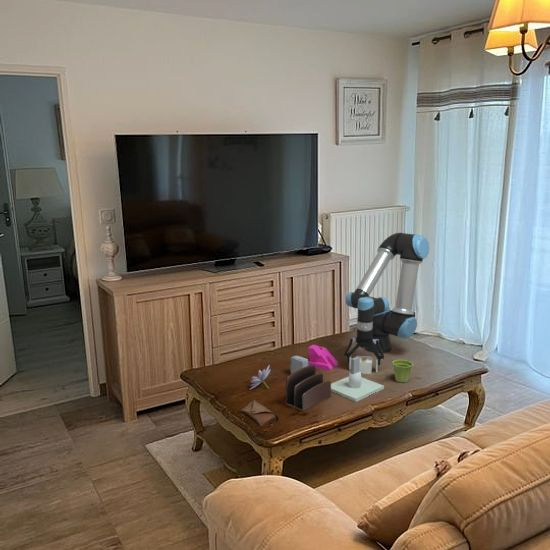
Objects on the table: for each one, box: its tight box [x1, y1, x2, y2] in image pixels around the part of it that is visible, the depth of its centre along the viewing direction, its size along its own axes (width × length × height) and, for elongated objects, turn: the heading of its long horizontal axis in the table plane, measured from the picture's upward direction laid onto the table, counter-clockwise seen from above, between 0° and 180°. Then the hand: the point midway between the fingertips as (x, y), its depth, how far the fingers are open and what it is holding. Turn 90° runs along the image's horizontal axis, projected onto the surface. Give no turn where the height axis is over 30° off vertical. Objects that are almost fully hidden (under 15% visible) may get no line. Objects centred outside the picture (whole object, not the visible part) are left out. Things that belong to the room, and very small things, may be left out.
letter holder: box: [285, 365, 332, 412], centre depth 247 cm, size 10×20×14 cm, turn 137°
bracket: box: [307, 344, 339, 372], centre depth 287 cm, size 12×10×10 cm
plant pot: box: [392, 359, 414, 383], centre depth 268 cm, size 9×9×9 cm
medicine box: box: [290, 355, 309, 375], centre depth 275 cm, size 8×4×9 cm, turn 47°
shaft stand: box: [331, 356, 385, 403], centre depth 258 cm, size 20×18×15 cm
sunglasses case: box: [239, 399, 279, 427], centre depth 235 cm, size 18×7×7 cm
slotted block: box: [355, 355, 373, 375], centre depth 280 cm, size 8×8×6 cm
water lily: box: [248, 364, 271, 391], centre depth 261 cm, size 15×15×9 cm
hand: (363, 370), depth 281 cm, fingers open, 12 cm apart
